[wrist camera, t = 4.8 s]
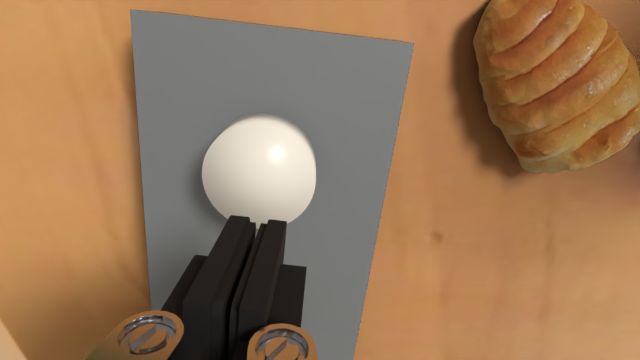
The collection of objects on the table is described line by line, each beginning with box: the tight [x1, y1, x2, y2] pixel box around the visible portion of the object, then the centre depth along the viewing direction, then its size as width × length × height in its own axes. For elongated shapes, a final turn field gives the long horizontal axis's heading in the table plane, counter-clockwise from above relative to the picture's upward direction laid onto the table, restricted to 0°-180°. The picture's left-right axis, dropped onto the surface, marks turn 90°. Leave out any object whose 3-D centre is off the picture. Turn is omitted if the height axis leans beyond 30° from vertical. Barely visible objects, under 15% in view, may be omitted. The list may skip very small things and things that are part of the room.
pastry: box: [473, 0, 640, 173], centre depth 18 cm, size 9×7×4 cm
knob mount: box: [130, 10, 414, 360], centre depth 23 cm, size 12×32×3 cm, turn 174°
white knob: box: [202, 113, 316, 229], centre depth 18 cm, size 5×5×5 cm
